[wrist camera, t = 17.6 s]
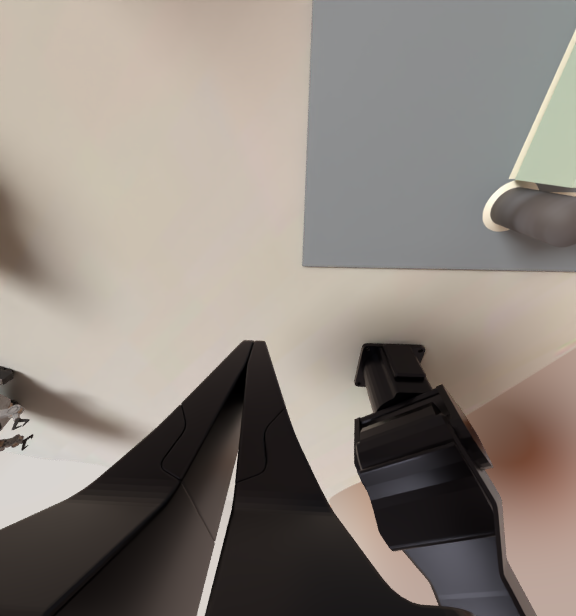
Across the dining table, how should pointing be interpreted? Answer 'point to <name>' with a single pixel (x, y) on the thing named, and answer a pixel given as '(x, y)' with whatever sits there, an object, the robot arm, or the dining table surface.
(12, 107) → the dining table surface
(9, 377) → the figurine
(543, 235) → the brown wooden bar
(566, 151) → the swing panel
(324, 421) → the dining table surface
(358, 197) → the card
